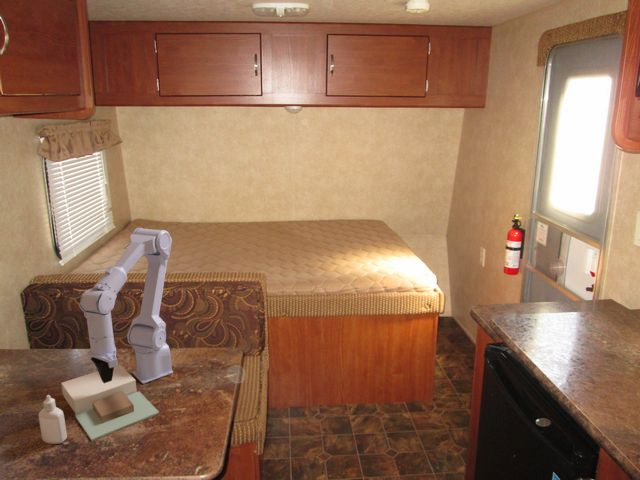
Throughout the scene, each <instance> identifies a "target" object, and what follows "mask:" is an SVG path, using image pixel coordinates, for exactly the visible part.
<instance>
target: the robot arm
mask: <svg viewBox="0 0 640 480" xmlns="http://www.w3.org/2000/svg"><path fill="white" fill-rule="evenodd" d="M172 242H173V239H172V237H171V235H170V233H169V231H167V230H165V229H161V230H160V229H150V228H143V227H137V228H135V229H134V230H133V232H132V233H131V235H130V236H129V243H128V246H127V248H126V249H125V251H124V252H123V254H122V255H121V257H120V258H119V260H118V262H117V263H116V264H115V266H111V267H108V268H106V269H105V271H104V273H103V274H102V275H101V277H100V278H99V279H98V281H97V282H96V283H95V284H94V286H93V287H92V288H90V289H87V290H85V291H84V292H83V293H82V295H81V297H80V301H79V303H78V306H79V308H80V310H81V311H82V312H83V317H84V318H86V323H87V330H88V331H87V333H88V337H89V338H88V339H89V345H90V351H89V352H86V357H87V358H88V359H90V360H91V361H92V363H93V364H94V366H95V367H96V369H97V370H96V371H98V372H99V375H100V377H101V380H102V382H103V383H107V382H110V381H112V377H113V370H114V367H115V366H118V363H119V362H118V356H117V348H116V345H115V338H114V329H113V321H112V320H113V319H112V313H111V311H112V310H114V307H115V304H116V299H117V297H118V294H119V292H120V291H121V289H122V288H123V287H124V285H125V284H126V282H127V281H128V273H129V272H130V270H131V269H132V268H133V267H134V266H135V264H137V262H139V260H140V259H141V258H142V257H145V259H146V260H147V262H148V263H147V264H148V265H147V269H146V275H145V281H144V287H143V293H142V302H141V306H140V313H139V314H138V315H137V316H136V317H134V318H133V319H132V320H131V324H130V327H129V329H128V332H127V336H126V337H127V342H128V343H129V345H131V346H132V349H134V352H135V361H136V370H134V371H132V374H133V375H132V376H134V377H135V378H136V379H138V381H139V382H140V383H141V384H143V385H144V384H148V383H150V382H153V381H155V380H157V379H161V378H163V377H166V376H169V375H172V374H173V373H174V371H173V369H172V366H173V365H172V358H171V357H172V356H171V350H170V347H169V345H168V344H167V342H166V340H167V333H166V327H167V323H166V322H165V321H163V319H162V317H160V311H161V305H162V297H163V291H164V285H165V280H166V274H167V273H166V272H167V267H168V261H169V259H170V254H171V250H172V249H171V248H172Z"/></svg>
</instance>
